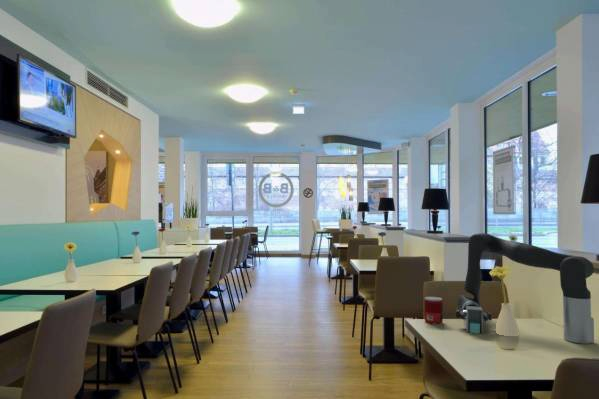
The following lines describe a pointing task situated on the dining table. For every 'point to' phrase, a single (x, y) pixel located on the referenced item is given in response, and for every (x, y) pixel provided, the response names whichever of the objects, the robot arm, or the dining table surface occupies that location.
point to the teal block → (474, 327)
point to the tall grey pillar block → (474, 316)
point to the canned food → (433, 309)
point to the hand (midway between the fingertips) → (474, 318)
